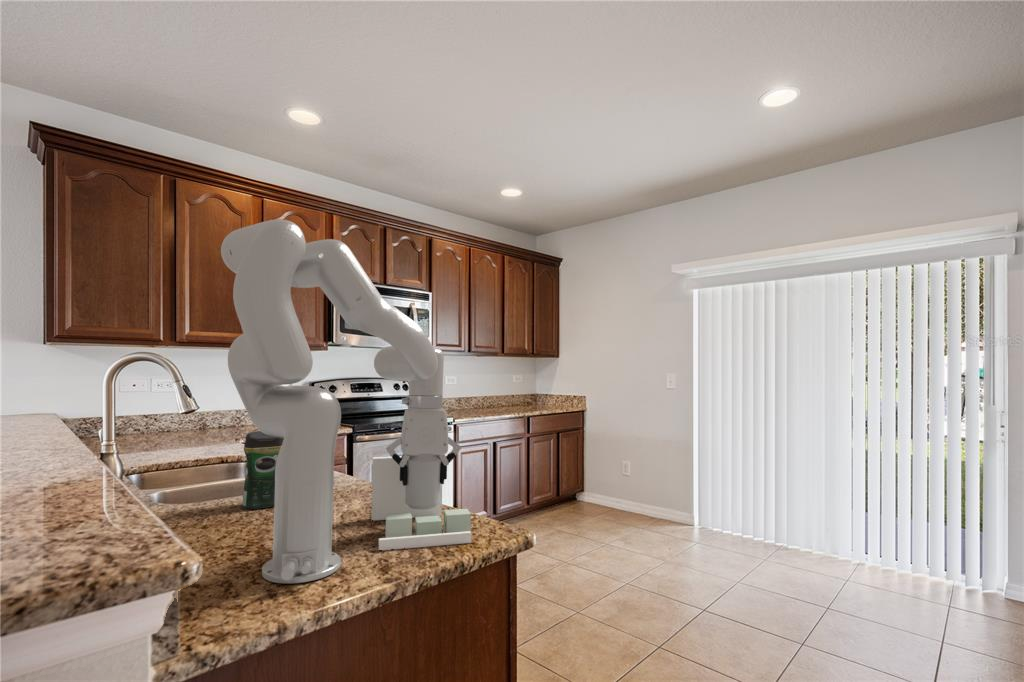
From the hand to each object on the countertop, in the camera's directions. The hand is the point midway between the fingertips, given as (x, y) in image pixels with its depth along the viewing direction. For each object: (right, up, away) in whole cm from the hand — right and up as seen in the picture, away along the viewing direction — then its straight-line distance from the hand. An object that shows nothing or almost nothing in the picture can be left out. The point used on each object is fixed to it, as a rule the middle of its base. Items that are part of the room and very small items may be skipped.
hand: (423, 483), depth 114 cm
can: (0, -5, 0) cm, 5 cm away
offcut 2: (+8, -9, -6) cm, 14 cm away
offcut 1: (-3, -9, -9) cm, 14 cm away
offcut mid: (+2, -9, -8) cm, 12 cm away
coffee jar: (-43, -10, +16) cm, 47 cm away
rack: (-1, -9, -2) cm, 10 cm away
